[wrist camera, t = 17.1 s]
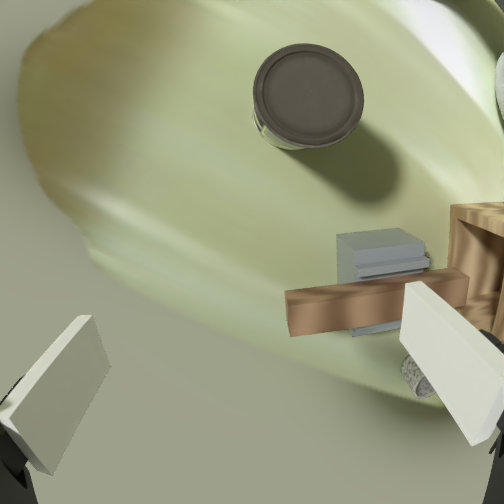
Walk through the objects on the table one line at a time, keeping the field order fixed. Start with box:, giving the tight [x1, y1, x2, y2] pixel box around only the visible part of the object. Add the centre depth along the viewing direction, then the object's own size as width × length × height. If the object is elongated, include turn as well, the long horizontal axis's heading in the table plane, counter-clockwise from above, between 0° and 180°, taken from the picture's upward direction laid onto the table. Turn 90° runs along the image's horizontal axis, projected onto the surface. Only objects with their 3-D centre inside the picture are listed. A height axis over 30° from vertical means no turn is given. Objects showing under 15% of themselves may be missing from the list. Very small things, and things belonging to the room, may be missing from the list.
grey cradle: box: [337, 228, 430, 337], centre depth 41 cm, size 10×12×10 cm
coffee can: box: [253, 44, 364, 150], centre depth 32 cm, size 10×10×14 cm
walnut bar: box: [285, 267, 470, 337], centre depth 36 cm, size 24×4×4 cm, turn 96°
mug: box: [401, 355, 436, 398], centre depth 48 cm, size 10×7×7 cm, turn 109°
